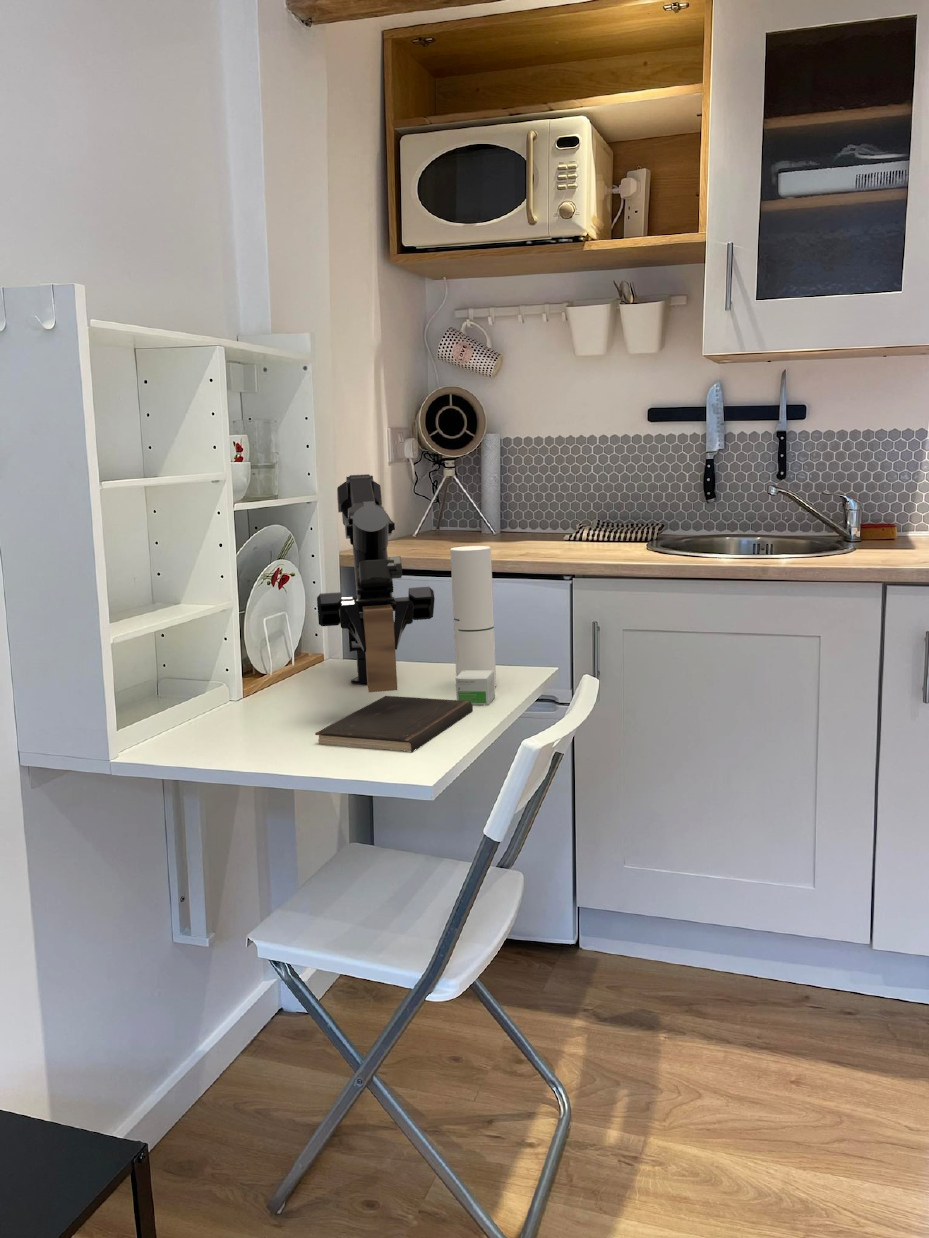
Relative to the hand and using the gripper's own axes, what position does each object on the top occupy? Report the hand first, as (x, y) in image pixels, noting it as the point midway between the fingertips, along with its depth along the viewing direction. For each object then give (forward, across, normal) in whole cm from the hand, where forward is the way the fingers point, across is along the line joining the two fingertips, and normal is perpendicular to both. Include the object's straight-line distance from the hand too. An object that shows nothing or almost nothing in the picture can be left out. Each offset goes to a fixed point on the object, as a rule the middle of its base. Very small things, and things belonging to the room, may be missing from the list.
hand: (380, 649), depth 161 cm
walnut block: (+4, 0, +6) cm, 7 cm away
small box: (+2, +16, +15) cm, 22 cm away
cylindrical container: (-5, +18, +22) cm, 29 cm away
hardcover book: (+11, +2, +7) cm, 13 cm away
